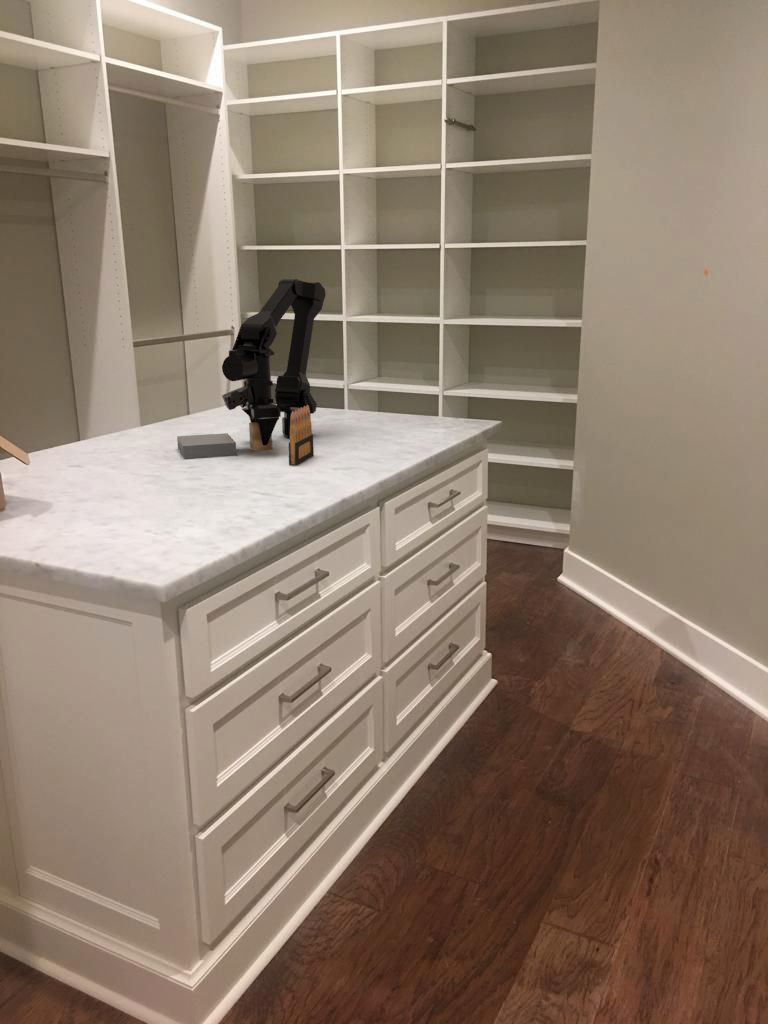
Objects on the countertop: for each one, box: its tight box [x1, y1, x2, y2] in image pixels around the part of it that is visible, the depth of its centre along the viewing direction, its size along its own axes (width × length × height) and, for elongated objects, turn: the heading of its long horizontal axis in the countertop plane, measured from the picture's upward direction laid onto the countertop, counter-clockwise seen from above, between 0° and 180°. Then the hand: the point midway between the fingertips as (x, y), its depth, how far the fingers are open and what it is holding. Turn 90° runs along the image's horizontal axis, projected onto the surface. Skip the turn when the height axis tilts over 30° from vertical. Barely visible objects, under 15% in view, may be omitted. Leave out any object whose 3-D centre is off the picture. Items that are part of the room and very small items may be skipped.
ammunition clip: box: [288, 405, 315, 467], centre depth 189 cm, size 11×2×12 cm, turn 164°
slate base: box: [176, 432, 237, 460], centre depth 199 cm, size 12×12×3 cm
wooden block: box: [248, 422, 273, 452], centre depth 203 cm, size 4×4×6 cm
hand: (260, 441), depth 203 cm, fingers open, 9 cm apart
